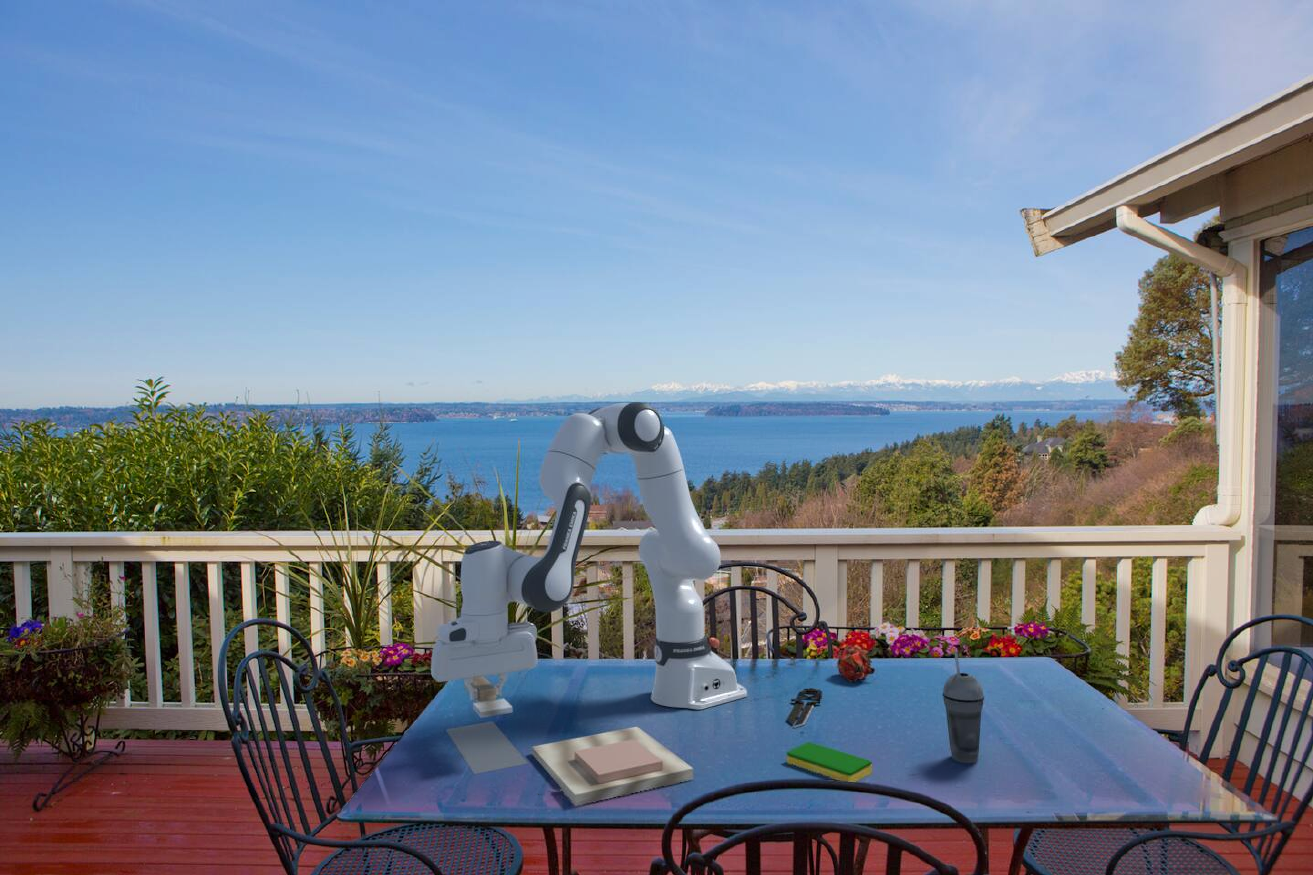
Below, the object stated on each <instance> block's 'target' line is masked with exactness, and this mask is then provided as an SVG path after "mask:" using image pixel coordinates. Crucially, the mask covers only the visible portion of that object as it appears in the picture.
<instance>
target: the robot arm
mask: <svg viewBox="0 0 1313 875" xmlns="http://www.w3.org/2000/svg"><path fill="white" fill-rule="evenodd" d="M627 453H628V455H629V456H630V457H631V458H632V461H633V463H634V470H635V476H636V479H637V486H638V488H639V494H640V497H641V501H642V502H641V503H642V507H643V510H644V512H645V514H646V515H647V517H649V519H650V520H651V522H652V523H653V525H654V527H655V529H651V530H649V531H647V532H646V533H645V534H644V535H643V536H642V538H641V539H640V542H639V544H638V556H639V559H640V561H641V562H642V563H643V565H644V568H645V570H646V572H647V575H648V580H649V583H650V587H651V590H652V594H653V595H652V596H653V600H654V608H655V609H654V610H655V633H656V636H655V637H654V659H655V674H654V683H653V688H652V692H651V696H650V699H651V701H652V702H653V703H655V704H657V705H660V706H664V707H670V708H683V709H684V708H685V709H692V710H704V709H707V708H708V709H709V708H711V707H714V706H718V705H722V704H726V703H729V702H732V701H733V702H734V701H735V700H739V699H743V698H746V697H747V696H748V692H747V691H748V690H747V688H745V687H744V686H743V685H741V684H740V683H738V681H737V675H736V673H735V668H733V667H732V665H731V664H730V663H729V662H727V661H725V659H723V658H721V656H719V655H717V654H716V653H715V652H713V651H712V649H711V647H712V648H713V649H717V648H719V646H720V640H719V639H718V638H715V637H711V638H710V637H709V636H706V635H705V625H704V623H705V622H704V603H703V601H702V598H701V597H700V595H699V594H698V592H697V590H696V587H695V584H694V582H695V581H696V582H697V581H703V580H708V579H710V578H711V577H713V576H714V575H715V574H716V572H717V571H718V570H719V568H720V564H721V559H722V556H721V550H720V547H719V545H718V544H717V543H716V542H715V540H714V539H713V538H712V537H711V536H710V534H709V533H708V532H707V530H706V528H705V526H704V524H703V522H702V521H701V519H700V516H699V515H698V512H697V510H696V508H695V505H694V503H693V500H692V497H691V493H690V488H689V485H688V480H687V477H686V471H685V468H684V463H683V459H682V455H681V453H680V449H679V447H678V444H677V442H676V439H675V437H674V435H673V432H672V431H671V429H669V428H668V427H667V426H664V424H663V419H662V417H661V415H660V413H659V412H658V410H657V409H656V408H655V407H654V406H652V405H650V404H648V403H645V402H642V401H641V402H640V401H633V402H632V401H631V402H621V403H618V402H617V403H615V404H612V405H608V406H605V407H598V408H595V409H593V410H592V411H590V412H588V413H585V412H584V413H583V412H577V413H573V414H570V415H569V416H567V417H566V418H565V420H564V421H563V422H562V424H561V425H560V426H559V429H558V430H557V432H556V433H555V435H554V437H553V439H552V440H551V442H550V445H549V447H548V448H547V450H546V453H545V455H544V457H543V460H542V464H541V466H540V469H539V474H538V482H539V487H540V489H541V491H542V492H543V494H544V495H545V496H546V498H548V500H550V501H551V502H552V503H553V505H554V506H555V512H556V516H555V521H554V524H553V526H552V531H551V533H550V534H551V535H550V538H549V541H548V544H547V547H546V550H545V552H544V553H543V554H542V556H541V555H540V557H539V556H535V555H530V554H525V553H523V552H522V553H521V552H519V551H517V550H514V549H512V548H509V547H507V546H506V545H505V544H503V542H502V541H500V540H488V541H487V540H485V541H481V542H476V543H473V544H471V545H470V546H468V547H467V548H466V549H465V551H464V552H463V555H462V559H461V568H460V592H461V595H462V605H461V611H460V617H458V618H455V619H453V620H451V621H449V622H446V623H444V624H443V623H442V624H441V625H439V626H438V627H437V628H436V635H437V638H438V640H437V641H435V643H434V645H433V648H432V653H431V660H430V661H431V664H430V672H431V676H432V679H434V681H436V682H437V683H442V682H450V681H457V680H463V682H464V685H465V684H466V686H467V687H468V689H469V690H470V694H469V699H470V701H472V702H473V701H475V700H478V699H479V690H478V689H477V688H476V689H473V687H472V685H471V684H470V683H473V677H479V676H484V677H485V676H492V675H497V676H498V678H499V679H498V681H497V683H496V685H493V686H494V687H495V688H496V698H497V697H502V696H503V687H504V685H505V684H506V682H507V680H508V673H515V672H519V671H520V672H521V671H527V670H534V669H535V668H536V666H537V665H538V651H537V645H536V641H537V638H538V637H537V636H538V633H537V632H538V629H537V626H536V625H535V624H534V623H532V622H530V621H528V620H527V621H521V622H509V620H508V614H509V613H508V612H509V611H508V608H509V607H508V605H509V603H514V602H515V603H517V604H520V605H524V606H528V607H531V609H535V610H537V611H538V612H543V613H552V612H555V611H557V610H559V609H561V608H562V607H563V606H564V605H566V603H568V601H569V599H570V597H571V596H572V593H573V591H574V590H573V589H574V585H575V574H576V573H575V572H576V565H577V560H578V557H579V556H578V555H579V552H580V548H581V545H582V541H583V537H584V534H585V530H586V527H587V523H588V519H589V515H590V510H591V505H592V504H591V503H592V496H591V491H590V490H591V486H592V482H593V479H594V476H595V474H596V471H597V469H598V465H599V463H600V460H601V458H602V456H603V455H608V454H609V455H610V454H611V455H624V454H627Z"/></svg>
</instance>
